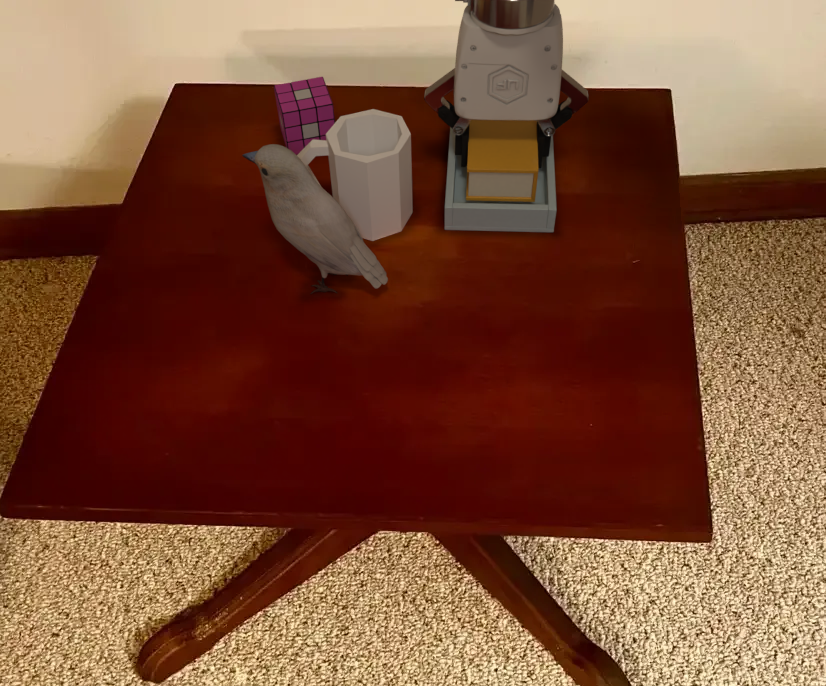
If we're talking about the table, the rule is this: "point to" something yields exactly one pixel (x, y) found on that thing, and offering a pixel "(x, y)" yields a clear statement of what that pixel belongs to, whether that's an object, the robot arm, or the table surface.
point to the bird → (313, 218)
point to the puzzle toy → (304, 112)
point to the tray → (499, 202)
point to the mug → (369, 170)
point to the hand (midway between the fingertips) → (501, 158)
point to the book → (502, 161)
